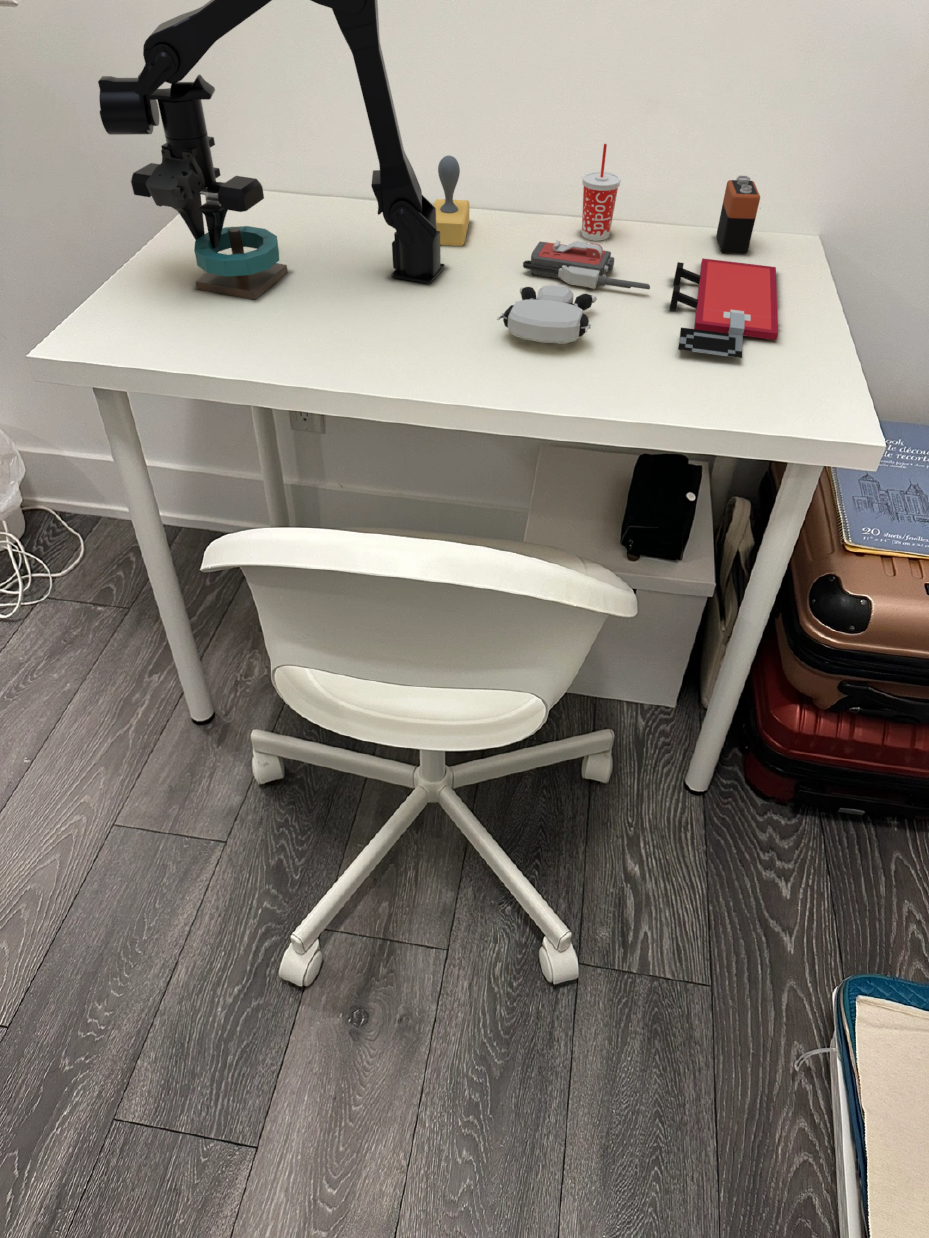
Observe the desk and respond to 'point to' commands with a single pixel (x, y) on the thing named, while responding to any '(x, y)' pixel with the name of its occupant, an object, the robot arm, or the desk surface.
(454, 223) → the rubber stamp
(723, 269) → the red board with handle
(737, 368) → the desk surface
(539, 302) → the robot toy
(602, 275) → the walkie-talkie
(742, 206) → the battery
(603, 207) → the beverage cup
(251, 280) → the stand
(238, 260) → the ring
